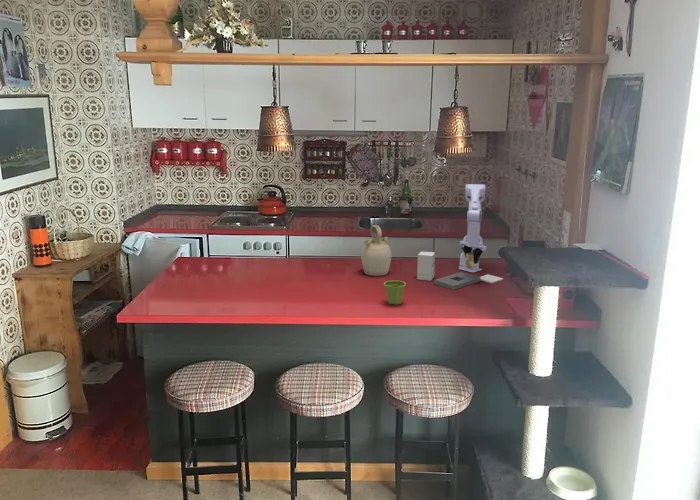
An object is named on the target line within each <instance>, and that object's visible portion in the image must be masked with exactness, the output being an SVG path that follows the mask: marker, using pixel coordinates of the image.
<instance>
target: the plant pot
mask: <svg viewBox="0 0 700 500" xmlns="http://www.w3.org/2000/svg"><path fill="white" fill-rule="evenodd" d="M383 286H384V289H385V292H386V300H387V304H388V305H400V304H402V302H403V297H404V296H403V295H404V289H405V286H406V282H405V281H401V280H386V281H384V282H383Z"/></svg>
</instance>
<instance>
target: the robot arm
mask: <svg viewBox="0 0 700 500" xmlns="http://www.w3.org/2000/svg"><path fill="white" fill-rule="evenodd" d="M464 194H465V197H464V198H465V202H466V201H467V202H468V210H467V213H466V214H467V215H466V217H467V219H466V221H467V222H466V223H467V232H466V235H465V236H464V237H463V240H460V241H459V246H462V247H461V250H462V252H461V254H460V257H459V267H458V270H462V271H465V272H469V273H471V274H473V273H476V272H481V271H482V270H483V268H480V267H479V266H480V257H481V255H482V254H483V252H485V251H487V248H488V247H487V245H484V244H483V237H482V236H480V235H481V233H480V231H481V222H482V215H483V213H482V212H483V211H482V203H483V202H484V201H485V198H486V197H485V196H486V184H481V183H480V184H478V183H477V184H475V183H473V184H472V183H469V184H468V183H466V184H465V191H464ZM470 252H473V254H474V264H476V263H478V268H475V269H469V268H466V253H470Z"/></svg>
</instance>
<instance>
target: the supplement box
mask: <svg viewBox="0 0 700 500" xmlns="http://www.w3.org/2000/svg"><path fill="white" fill-rule="evenodd" d="M435 258H436V253H435V252H434V251H420V252H418V254H417V268H416V269H417V272H416V273H417V274H416V279H417V280H419V281H429V282H431V281H432V280H433V278H434V277H435V263H436V262H435V261H436V259H435Z"/></svg>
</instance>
